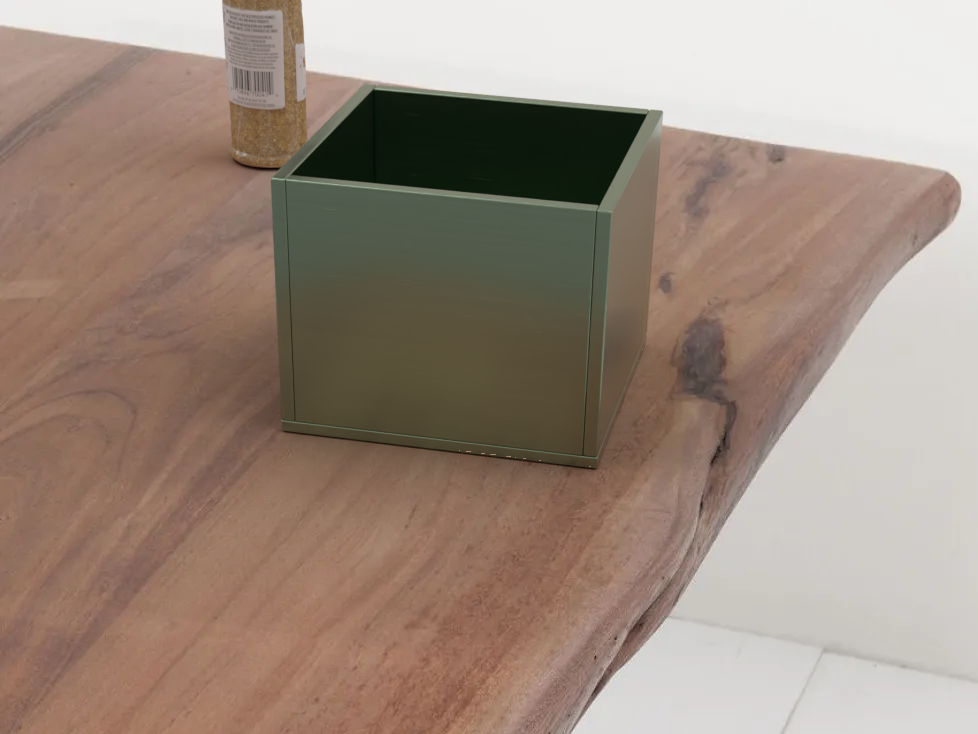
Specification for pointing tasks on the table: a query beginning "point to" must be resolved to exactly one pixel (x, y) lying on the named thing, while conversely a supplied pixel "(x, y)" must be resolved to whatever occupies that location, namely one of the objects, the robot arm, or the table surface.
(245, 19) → the sprinkles bottle
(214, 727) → the table surface
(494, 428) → the bin
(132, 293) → the table surface
